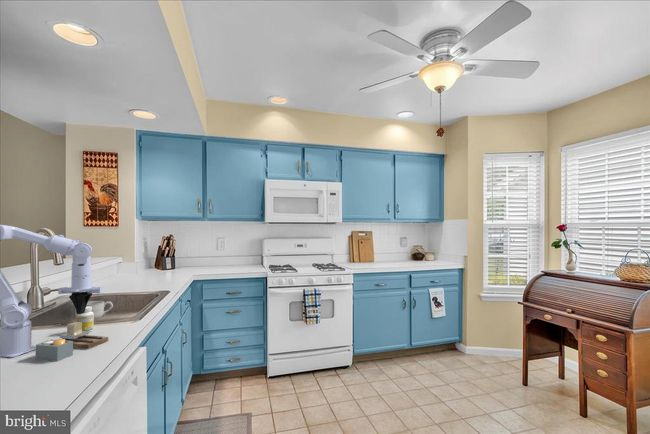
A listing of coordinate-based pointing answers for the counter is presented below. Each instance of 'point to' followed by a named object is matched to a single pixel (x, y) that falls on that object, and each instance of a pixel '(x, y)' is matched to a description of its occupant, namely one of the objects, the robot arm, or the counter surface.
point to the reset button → (59, 342)
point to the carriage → (74, 331)
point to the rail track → (87, 341)
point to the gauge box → (53, 350)
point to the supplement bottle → (86, 319)
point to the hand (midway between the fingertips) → (80, 313)
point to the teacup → (97, 308)
